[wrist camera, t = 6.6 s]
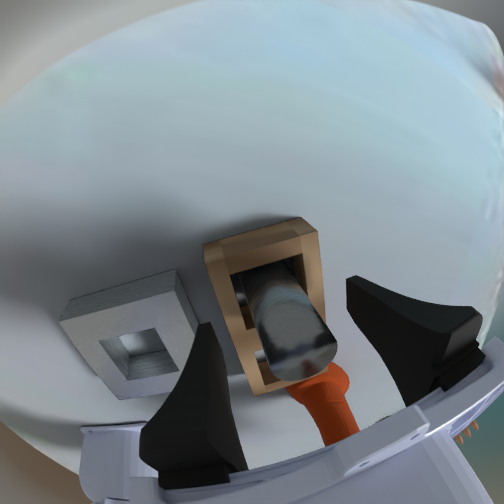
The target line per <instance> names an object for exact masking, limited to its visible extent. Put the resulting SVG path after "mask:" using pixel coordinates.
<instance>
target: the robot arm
mask: <svg viewBox="0 0 504 504" xmlns="http://www.w3.org/2000/svg"><path fill="white" fill-rule="evenodd" d="M346 297H347V310H348V312H349V314H350V316H351V317H352V319H353V321H354V322H355V324H356V325H357V326H358V328H359V329H360V330H361V332H362V333H363V334H364V335H365V337H366V338H367V339H368V340H369V342H370V343H371V344H372V345H373V347H374V348H375V349H376V351H377V352H378V353H379V355H380V356H381V358H382V360H383V361H384V363H385V365H386V366H387V368H388V370H389V372H390V374H391V376H392V377H393V379H394V381H395V383H396V385H397V387H398V389H399V392H400V394H401V396H402V398H403V401H404V403H405V405H406V408H404V409H402V410H400V411H398V412H397V413H395V414H393V415H391V416H389V417H387V418H386V419H384V420H382V421H380V422H378V423H376V424H374V425H372V426H370V427H368V428H366V429H363V430H361V431H359V432H357V433H355V434H353V435H351V436H349V437H347V438H345V439H344V440H341V441H339V442H336V443H334V444H331V445H329V446H326V447H324V448H321V449H318V450H316V451H313V452H310V453H307V454H304V455H301V456H298V457H295V458H292V459H288V460H285V461H282V462H278V463H275V464H271V465H267V466H263V467H259V468H255V469H251V470H249V469H248V466H247V463H246V460H245V457H244V454H243V450H242V447H241V444H240V440H239V437H238V433H237V430H236V426H235V422H234V418H233V414H232V410H231V404H230V397H229V389H228V380H227V372H226V365H225V361H224V357H223V353H222V349H221V347H220V344H219V342H218V339H217V337H216V335H215V332H214V330H213V327H212V325H211V323H210V322H207V323H204V324H200V325H198V326H197V329H196V334H195V337H194V341H193V344H192V347H191V350H190V353H189V356H188V359H187V361H186V364H185V366H184V369H183V371H182V373H181V375H180V377H179V379H178V381H177V383H176V385H175V387H174V388H173V390H172V392H171V393H170V395H169V396H168V398H167V399H166V401H165V402H164V404H163V405H162V406H161V408H160V409H159V410H158V412H157V413H156V414H155V415H154V416H153V417H152V418H151V419H150V421H149V422H148V423H139V424H129V425H116V426H99V427H81V428H80V431H81V432H82V433H83V434H84V439H83V445H82V453H81V461H80V470H79V479H80V483H81V487H82V489H83V491H84V493H85V494H86V496H87V497H88V498H90V500H92V501H93V503H92V504H493V502H492V500H491V498H490V497H489V495H488V494H487V492H486V490H485V489H484V487H483V485H482V484H481V482H480V481H479V479H478V477H477V476H476V474H475V473H474V471H473V470H472V468H471V467H470V465H469V464H468V462H467V461H466V459H465V457H464V456H463V454H462V453H461V451H460V450H459V448H458V447H457V446H456V444H455V443H454V441H453V440H452V438H454V437H455V436H456V435H457V434H458V433H460V432H461V431H462V430H463V429H464V428H465V427H467V426H468V425H469V424H470V423H471V422H472V421H473V420H474V419H475V418H476V417H477V416H479V415H480V414H481V413H482V412H483V411H484V410H485V409H486V408H487V407H488V406H489V405H490V404H491V403H492V402H493V401H494V400H495V399H496V398H497V397H498V396H499V395H500V394H501V393H502V392H503V391H504V344H503V343H502V342H501V341H500V340H499V339H498V338H497V337H494V338H493V339H492V340H491V341H489V342H488V343H487V344H486V345H485V346H484V347H483V348H482V350H480V349H479V348H478V346H479V343H478V342H477V341H476V338H477V335H478V333H479V331H480V328H481V325H482V320H483V317H482V315H481V314H480V313H479V312H478V311H477V310H475V309H474V308H473V307H472V306H449V305H440V304H434V303H429V302H424V301H420V300H417V299H413V298H410V297H407V296H404V295H401V294H398V293H396V292H393V291H391V290H388V289H386V288H384V287H381V286H379V285H377V284H375V283H373V282H370V281H368V280H366V279H364V278H362V277H359V276H357V275H355V276H352V277H350V278H347V279H346Z"/></svg>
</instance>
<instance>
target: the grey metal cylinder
mask: <svg viewBox="0 0 504 504" xmlns="http://www.w3.org/2000/svg"><path fill="white" fill-rule="evenodd" d="M239 280H240V283H241V286H242V289H243V292H244V295H245V298H246V301H247V304H248V307H249V309H250V312H251V315H252V318H253V321H254V324H255V327H256V330H257V333H258V336H259V338H260V341H261V344H262V347H263V350H264V353H265V356H266V358H267V361H268V364H269V367H270V370H271V372H272V374H273V375H274V376H275V377H276V378H278V379H280V380H284V381H299V380H303V379H306V378H309V377H311V376H314V375H315V374H317V373H319V372H320V371H322V370H323V369H324V368H325V367H327V366H328V365H329V364H330V362H331V361H332V360H333V358H334V357H335V354H336V352H337V341H336V339H335V337H334V336H333V334H332V333H331V331H330V330H329V328H328V327H327V325H326V324H325V322H324V321H323V319H322V318H321V316H320V315H319V313H318V312H317V310H316V309H315V307H314V306H313V304H312V303H311V301H310V300H309V298H308V297H307V295H306V294H305V292H304V291H303V289H302V288H301V286H300V285H299V283H298V282H297V280H296V279H295V277H294V276H293V274H292V273H291V271H290V270H289V268H288V267H287V265H286V264H285V262H284V261H283V260H282V259H281V260H278V261H275V262H271V263H268V264H264V265H261V266H258V267H254V268H251V269H248V270H244V271H241V272H239Z"/></svg>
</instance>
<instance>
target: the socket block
mask: <svg viewBox="0 0 504 504" xmlns="http://www.w3.org/2000/svg"><path fill="white" fill-rule="evenodd" d="M59 324H60V325H61V327H62V328H63V330H64V331H65V333H66V334H67V336H68V337H69V339H70V340H71V341H72V343H73V344H74V346H75V347H76V348H77V350H78V351H79V352H80V354H81V355H82V356H83V358H84V359H85V360H86V362H87V363H88V364H89V365H90V367H91V368H92V369H93V370H94V372H95V373H96V374H97V375H98V377H99V378H100V379H101V380H102V381H103V382H104V384H105V385H106V386H107V387H108V388H109V389H110V390H111V392H112V393H113V394H114V395H115V396H116V397H117V398H118V399H119V400H123V399H131V398H138V397H144V396H150V395H156V394H162V393H167V392H172V390H173V388H174V387H175V385H176V383H177V381H178V379H179V377H180V375H181V373H182V371H183V369H184V366H185V364H186V361H187V359H188V356H189V353H190V350H191V347H192V344H193V341H194V337H195V334H196V329H197V326H198V325H199V324H198V321H197V319H196V317H195V315H194V312H193V310H192V308H191V305H190V303H189V300H188V298H187V296H186V293H185V291H184V288H183V286H182V283H181V281H180V278H179V276H178V273H177V271H176V269H174V270H170V271H167V272H164V273H160V274H157V275H153V276H150V277H147V278H143V279H140V280H136V281H133V282H130V283H126V284H123V285H119V286H116V287H113V288H109V289H106V290H103V291H99V292H96V293H93V294H89V295H86V296H82V297H79V298H76V299H72V300H70V301H69V303H68V305H67V306H66V308H65V310H64V312H63V314H62V316H61V318H60V320H59ZM151 328H155V329H156V331H157V333H158V335H159V336H160V338H161V340H162V342H163V343H164V345H165V347H166V349H167V350H163V351H158V352H154V353H149V354H145V355H140V356H135V357H131V356H130V354H129V353H128V351H127V350H126V348H125V347H124V345H123V344H122V342H121V341H120V339H119V338H118V336H122V335H126V334H130V333H135V332H139V331H143V330H147V329H151Z"/></svg>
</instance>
